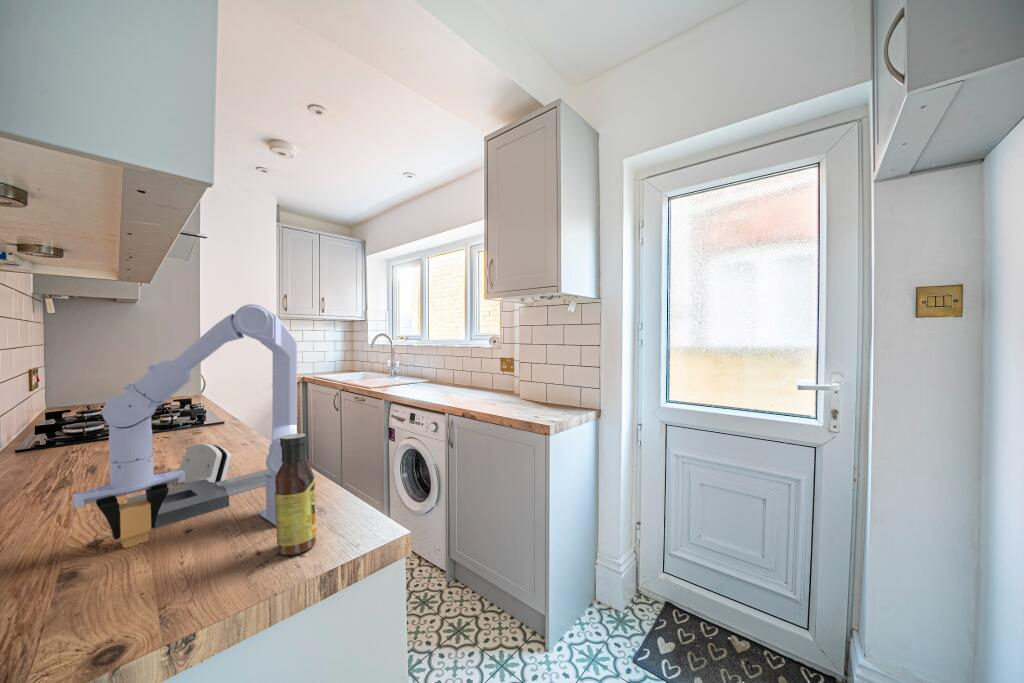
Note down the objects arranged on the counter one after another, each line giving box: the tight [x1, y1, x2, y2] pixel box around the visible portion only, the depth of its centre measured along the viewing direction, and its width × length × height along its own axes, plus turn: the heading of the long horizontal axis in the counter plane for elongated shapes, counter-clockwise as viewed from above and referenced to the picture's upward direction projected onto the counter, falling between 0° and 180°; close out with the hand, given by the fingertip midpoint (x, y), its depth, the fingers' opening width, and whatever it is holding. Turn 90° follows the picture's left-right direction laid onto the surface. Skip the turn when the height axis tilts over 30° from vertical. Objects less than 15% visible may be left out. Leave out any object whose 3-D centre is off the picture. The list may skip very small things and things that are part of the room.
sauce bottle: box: [275, 433, 318, 556], centre depth 70 cm, size 7×6×20 cm
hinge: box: [172, 443, 232, 484], centre depth 105 cm, size 17×5×10 cm, turn 62°
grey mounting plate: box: [126, 469, 267, 529], centre depth 91 cm, size 16×27×3 cm, turn 143°
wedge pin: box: [119, 498, 152, 549], centre depth 72 cm, size 4×4×7 cm
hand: (134, 532), depth 72 cm, fingers closed on wedge pin, 4 cm apart
